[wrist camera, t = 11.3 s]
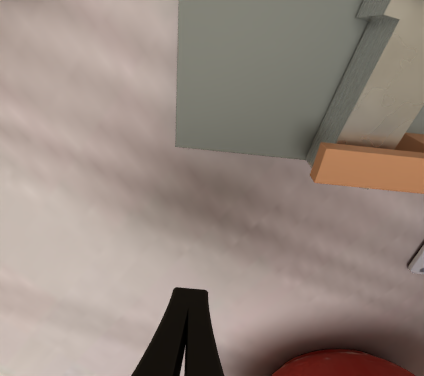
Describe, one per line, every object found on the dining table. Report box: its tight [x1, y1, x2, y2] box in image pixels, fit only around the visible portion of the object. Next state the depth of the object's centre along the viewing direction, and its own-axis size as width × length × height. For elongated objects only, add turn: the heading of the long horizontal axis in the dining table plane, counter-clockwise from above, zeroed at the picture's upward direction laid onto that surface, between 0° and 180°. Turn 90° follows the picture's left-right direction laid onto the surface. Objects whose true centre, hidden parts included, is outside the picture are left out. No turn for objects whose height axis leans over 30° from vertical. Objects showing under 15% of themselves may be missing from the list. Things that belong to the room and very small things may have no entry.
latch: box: [305, 0, 424, 189], centre depth 12 cm, size 12×4×2 cm, turn 167°
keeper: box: [310, 133, 424, 194], centre depth 14 cm, size 8×2×5 cm, turn 85°
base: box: [175, 0, 424, 160], centre depth 11 cm, size 15×13×6 cm
